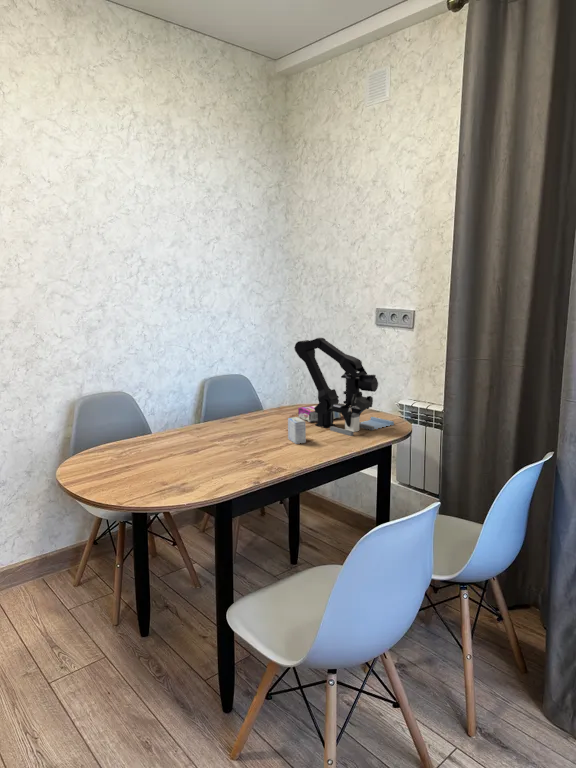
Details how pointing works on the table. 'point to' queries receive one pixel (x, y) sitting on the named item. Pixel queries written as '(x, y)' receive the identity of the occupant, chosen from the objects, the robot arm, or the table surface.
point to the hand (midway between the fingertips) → (352, 425)
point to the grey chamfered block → (353, 423)
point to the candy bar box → (313, 414)
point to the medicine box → (296, 430)
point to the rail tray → (366, 425)
